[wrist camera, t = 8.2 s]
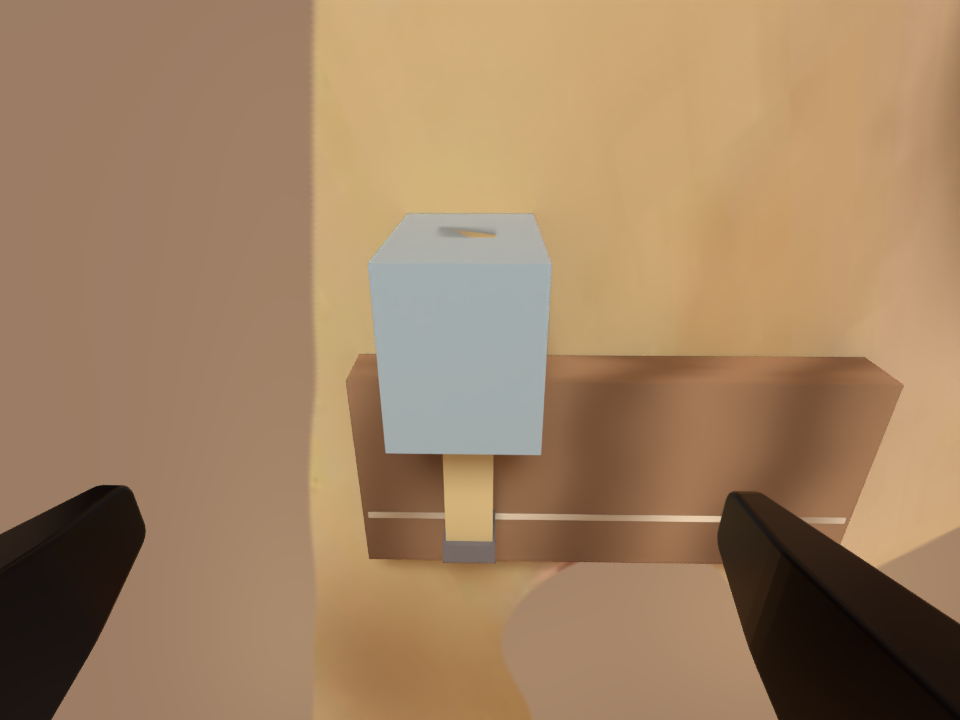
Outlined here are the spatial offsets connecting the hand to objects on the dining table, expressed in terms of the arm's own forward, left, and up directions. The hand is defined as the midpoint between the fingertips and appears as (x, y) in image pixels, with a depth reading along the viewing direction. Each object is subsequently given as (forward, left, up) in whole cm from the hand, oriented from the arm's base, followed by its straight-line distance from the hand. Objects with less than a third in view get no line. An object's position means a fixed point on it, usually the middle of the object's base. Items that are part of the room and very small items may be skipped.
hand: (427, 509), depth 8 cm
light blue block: (0, +3, -11) cm, 12 cm away
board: (-5, +7, -11) cm, 14 cm away
